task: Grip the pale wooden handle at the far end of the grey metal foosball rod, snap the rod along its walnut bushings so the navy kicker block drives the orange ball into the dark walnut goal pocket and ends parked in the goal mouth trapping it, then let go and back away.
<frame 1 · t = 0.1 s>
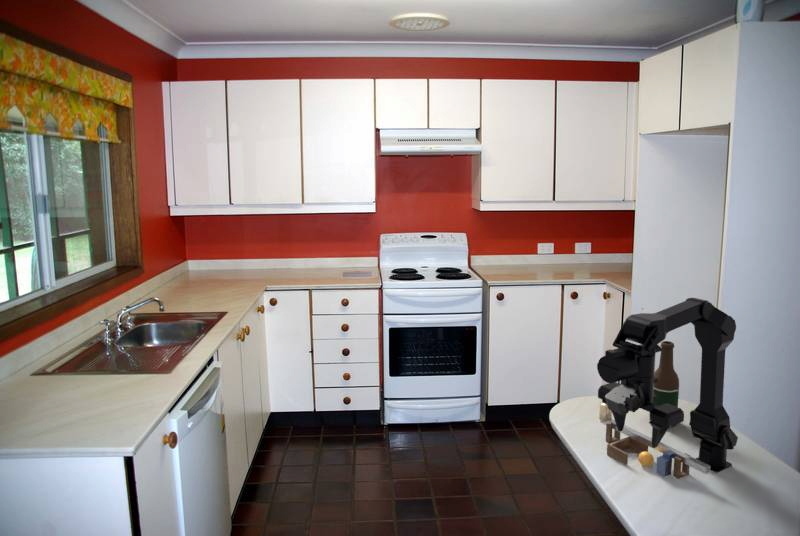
hand: (637, 438, 132), 15 cm above the countertop, fingers open, 9 cm apart
goal: (627, 455, 153), on the countertop
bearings: (683, 476, 143), on the countertop
ball: (645, 458, 148), point 2 cm above the countertop
rod: (645, 442, 150), point 5 cm above the countertop, slide at 0.0 cm
beer bottle: (662, 421, 171), on the countertop
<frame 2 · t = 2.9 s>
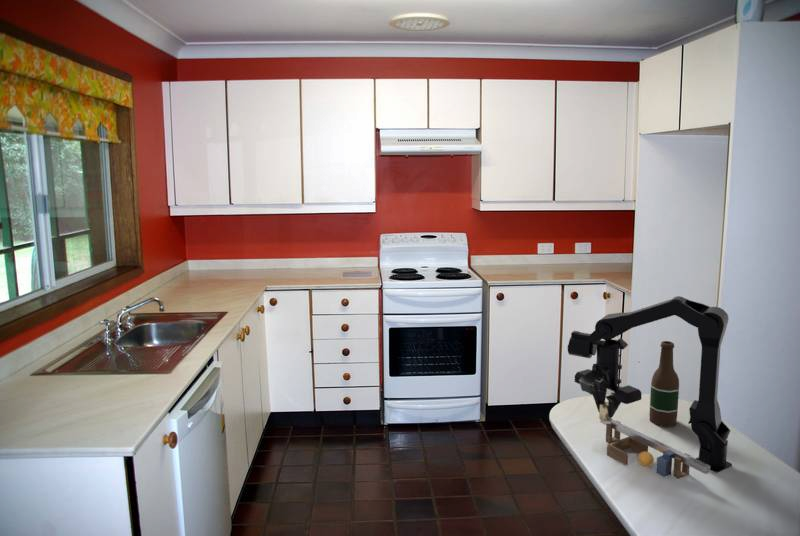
hand: (605, 414, 162), 6 cm above the countertop, fingers closed on rod, 3 cm apart
rod: (645, 442, 150), point 5 cm above the countertop, slide at 0.0 cm, touching gripper
everything else where it was.
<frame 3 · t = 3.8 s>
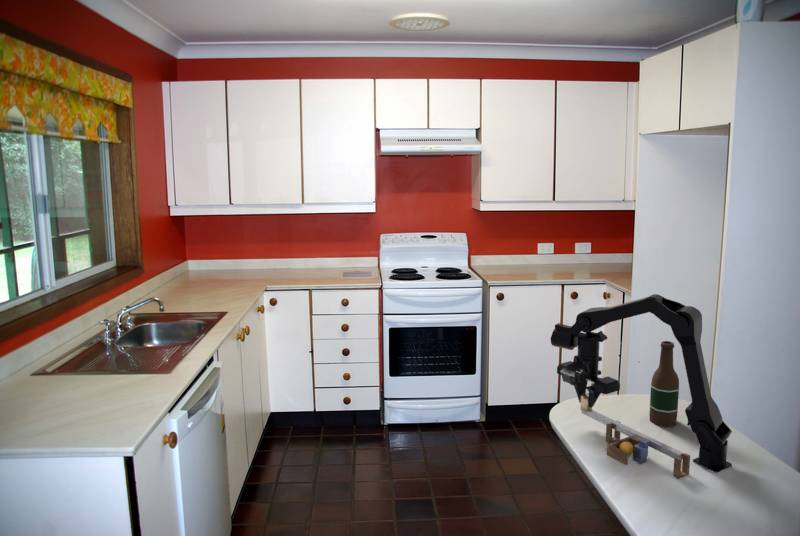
hand: (586, 405, 168), 7 cm above the countertop, fingers closed on rod, 3 cm apart
ball: (626, 448, 153), point 2 cm above the countertop, tilted 178°
rod: (623, 431, 156), point 5 cm above the countertop, slide at 7.0 cm, touching gripper
everything else where it was.
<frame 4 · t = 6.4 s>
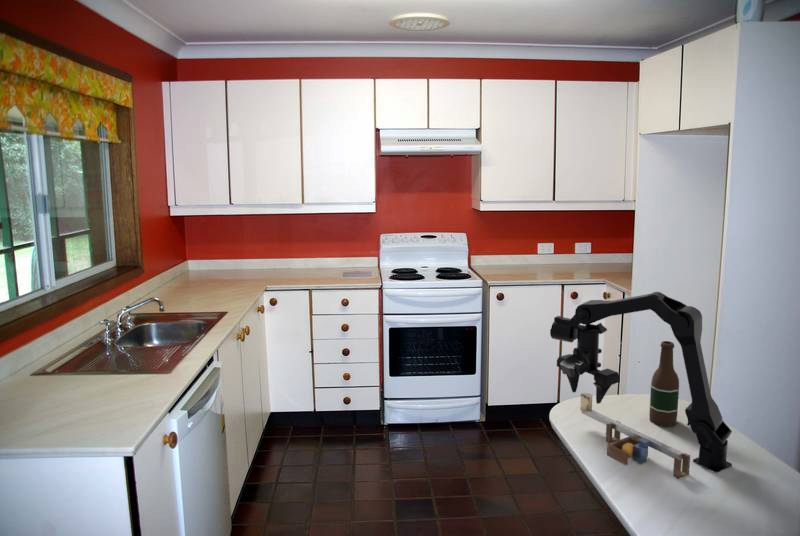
hand: (586, 397, 168), 9 cm above the countertop, fingers open, 9 cm apart
ball: (629, 450, 152), point 2 cm above the countertop, tilted 154°
rod: (623, 431, 156), point 5 cm above the countertop, slide at 7.1 cm
everything else where it was.
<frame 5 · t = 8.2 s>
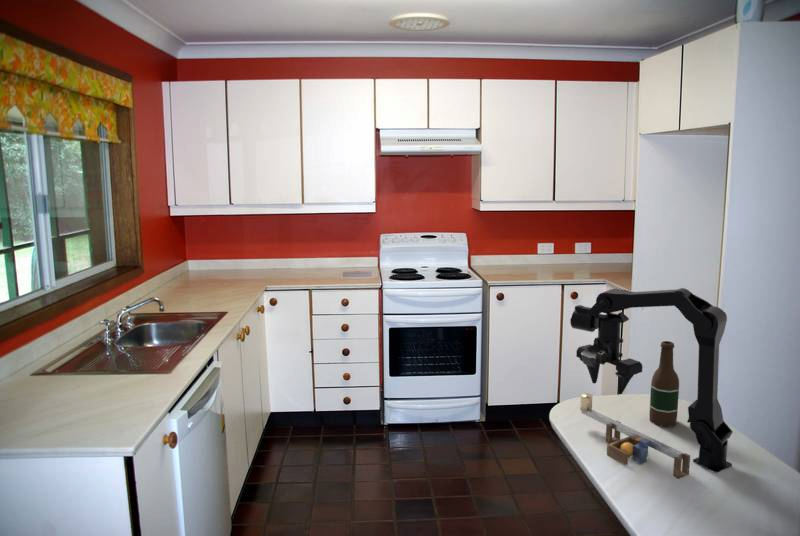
hand: (606, 388, 165), 13 cm above the countertop, fingers open, 9 cm apart
ball: (627, 449, 153), point 2 cm above the countertop, tilted 169°
everything else where it was.
at the end: ball 0.1 cm from the target spot, point 1.8 cm above the countertop; rod slide at 7.1 cm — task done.
